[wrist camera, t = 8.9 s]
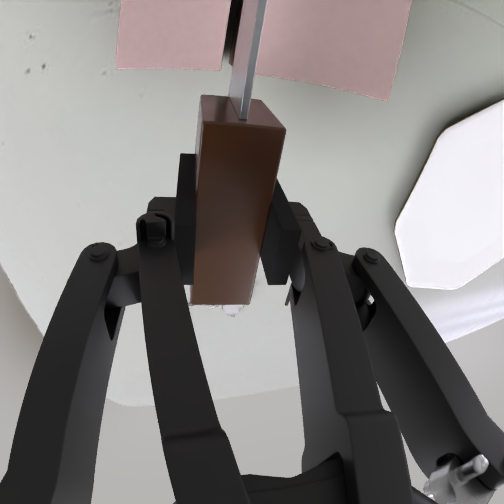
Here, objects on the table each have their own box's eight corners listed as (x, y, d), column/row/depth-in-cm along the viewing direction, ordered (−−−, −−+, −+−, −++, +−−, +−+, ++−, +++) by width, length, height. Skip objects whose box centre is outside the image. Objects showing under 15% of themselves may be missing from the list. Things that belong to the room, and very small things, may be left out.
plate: (534, 76, 22) (543, 80, 21) (530, 227, 39) (535, 233, 38) (367, 160, 28) (375, 167, 26) (409, 309, 45) (413, 316, 43)
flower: (198, 316, 39) (196, 334, 37) (169, 273, 34) (165, 292, 32) (257, 306, 38) (258, 325, 36) (236, 259, 33) (235, 278, 31)
